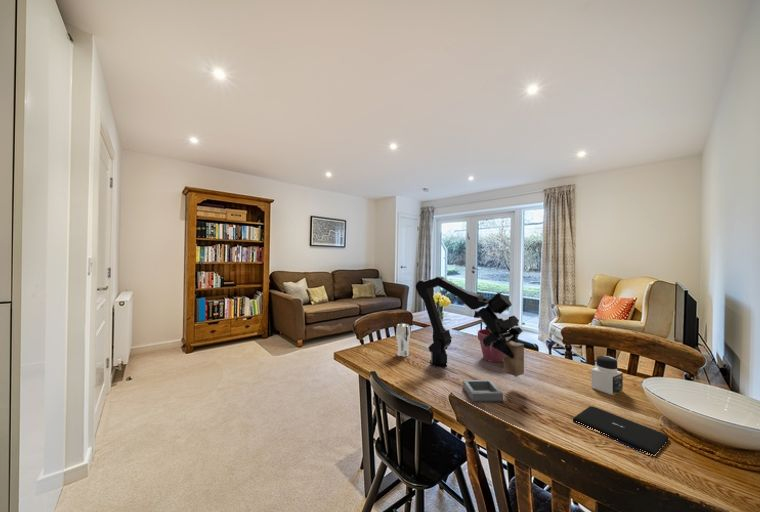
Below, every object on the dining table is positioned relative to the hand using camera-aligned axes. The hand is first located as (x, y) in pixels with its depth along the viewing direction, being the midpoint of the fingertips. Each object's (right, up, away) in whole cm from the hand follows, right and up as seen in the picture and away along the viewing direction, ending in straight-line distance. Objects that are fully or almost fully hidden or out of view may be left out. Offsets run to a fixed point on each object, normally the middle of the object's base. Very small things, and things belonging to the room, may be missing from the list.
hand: (517, 356), depth 105 cm
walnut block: (-1, -7, +1) cm, 7 cm away
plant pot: (+4, -12, +31) cm, 34 cm away
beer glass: (-40, -12, +36) cm, 55 cm away
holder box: (-15, -12, -4) cm, 20 cm away
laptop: (+17, -13, -24) cm, 32 cm away
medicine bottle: (+33, -13, 0) cm, 36 cm away
